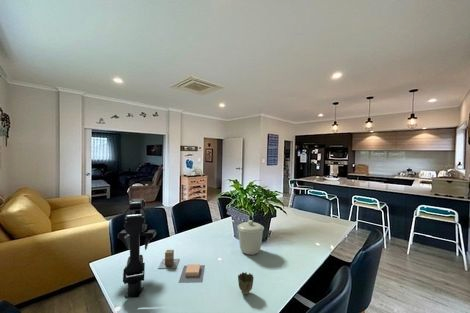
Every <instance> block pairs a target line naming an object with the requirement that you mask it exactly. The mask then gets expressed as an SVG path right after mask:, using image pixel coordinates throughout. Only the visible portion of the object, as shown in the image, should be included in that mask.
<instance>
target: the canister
mask: <svg viewBox="0 0 470 313" xmlns="http://www.w3.org/2000/svg"><path fill="white" fill-rule="evenodd" d="M264 229H265V227H264V226H263V225H262V224H260V223H258V222H254V220H252V219H250V220H248V221H244V222H242V223H240V224H238V225H237V231H238V240H239V249H240V251H241V253H243V254H245V255H249V256H254V255H257V254H259V253H260V251H261V248H262V242H263V241H262V240H263V234H264Z"/></svg>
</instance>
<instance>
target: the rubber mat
mask: <svg viewBox="0 0 470 313" xmlns="http://www.w3.org/2000/svg"><path fill="white" fill-rule="evenodd" d="M205 266H206V265H203V264H200V271H199V276H188V277H185V272H186V269H187V265H183V268H182V271H181V274H180V277H179V279H178V283H179V284H183V283H184V284H189V283H190V284H191V283H192V284H193V283H198V284H199V283H203V282H204V281H203V280H204V273H205Z"/></svg>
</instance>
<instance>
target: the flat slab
mask: <svg viewBox="0 0 470 313" xmlns="http://www.w3.org/2000/svg"><path fill="white" fill-rule="evenodd" d="M200 265H201V264H200V263H198V264H197V263H196V264H193V263H192V264H190V263H189V264H187V265H186V266H187V269H186V272H185V277H188V276H199V271H200Z"/></svg>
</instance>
